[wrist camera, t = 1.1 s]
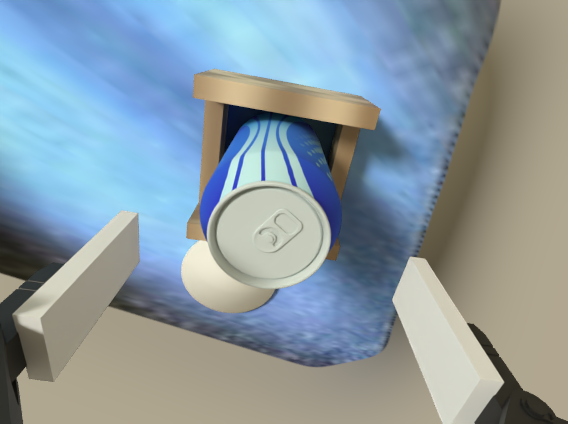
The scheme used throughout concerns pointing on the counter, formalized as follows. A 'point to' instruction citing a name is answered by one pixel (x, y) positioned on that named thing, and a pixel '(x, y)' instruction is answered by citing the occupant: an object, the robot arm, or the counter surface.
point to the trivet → (217, 283)
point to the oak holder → (286, 100)
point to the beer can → (271, 204)
